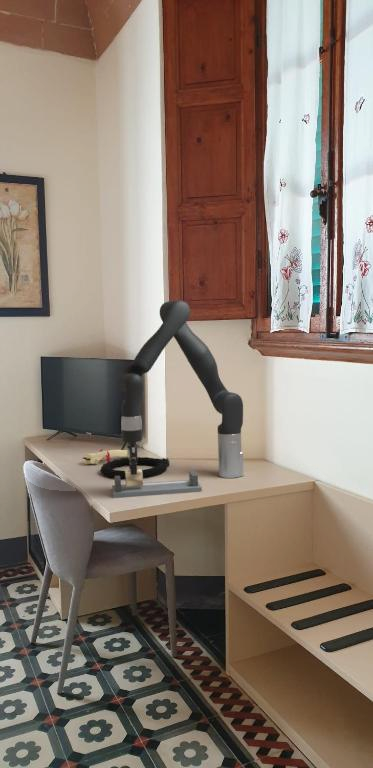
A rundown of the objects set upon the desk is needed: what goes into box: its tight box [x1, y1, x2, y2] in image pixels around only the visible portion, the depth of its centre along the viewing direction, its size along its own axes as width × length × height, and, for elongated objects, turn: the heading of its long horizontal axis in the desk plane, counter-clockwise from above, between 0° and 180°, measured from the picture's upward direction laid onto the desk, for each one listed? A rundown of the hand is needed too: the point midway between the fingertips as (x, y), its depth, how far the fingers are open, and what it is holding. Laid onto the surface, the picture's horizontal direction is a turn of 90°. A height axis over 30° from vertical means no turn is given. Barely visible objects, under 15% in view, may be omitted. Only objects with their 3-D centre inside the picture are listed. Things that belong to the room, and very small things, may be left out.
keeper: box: [124, 467, 144, 487], centre depth 238 cm, size 6×5×7 cm
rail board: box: [111, 469, 203, 499], centre depth 240 cm, size 32×12×6 cm, turn 98°
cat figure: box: [81, 442, 128, 465], centre depth 291 cm, size 10×9×25 cm
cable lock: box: [100, 456, 171, 480], centre depth 271 cm, size 28×4×30 cm
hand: (133, 471), depth 238 cm, fingers open, 8 cm apart
